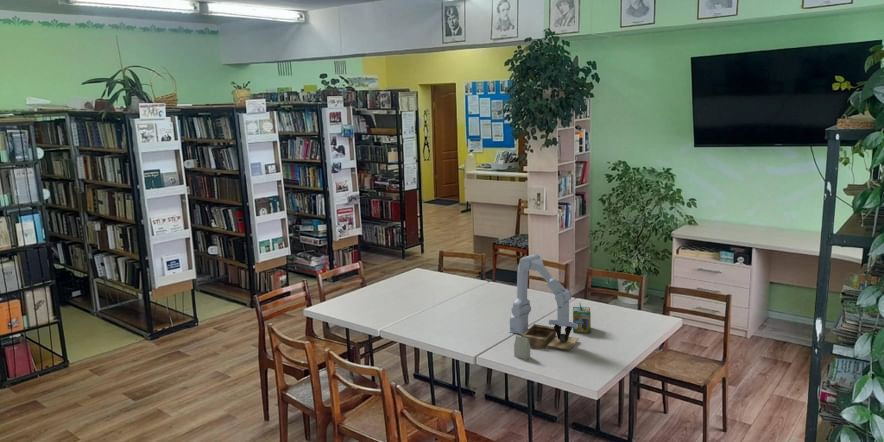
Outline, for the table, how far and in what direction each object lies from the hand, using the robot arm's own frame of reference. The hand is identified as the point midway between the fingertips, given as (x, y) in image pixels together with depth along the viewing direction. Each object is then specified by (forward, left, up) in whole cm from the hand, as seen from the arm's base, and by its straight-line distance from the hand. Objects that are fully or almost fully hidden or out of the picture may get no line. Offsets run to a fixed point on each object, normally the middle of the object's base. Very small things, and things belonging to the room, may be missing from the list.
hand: (563, 339), depth 307 cm
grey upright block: (-13, -22, -3) cm, 26 cm away
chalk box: (+2, +24, -3) cm, 24 cm away
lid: (0, 0, -2) cm, 2 cm away
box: (-13, 0, -3) cm, 13 cm away
